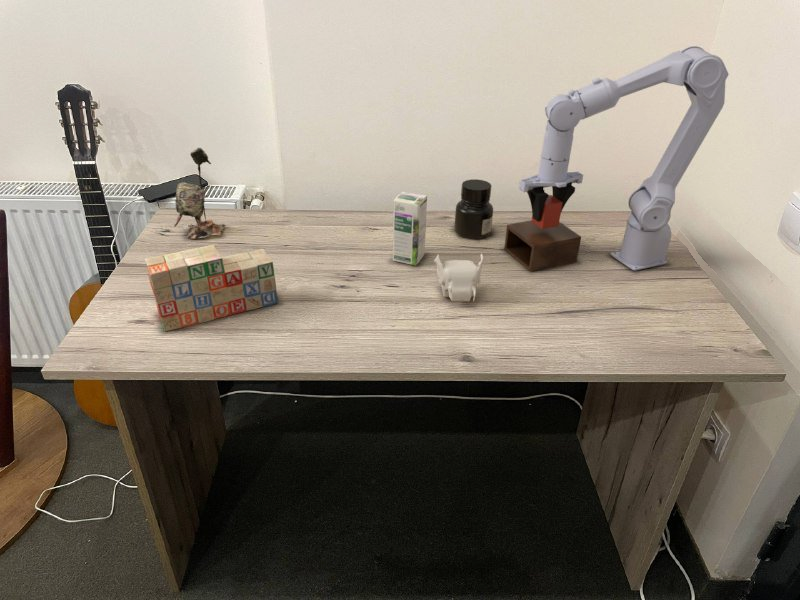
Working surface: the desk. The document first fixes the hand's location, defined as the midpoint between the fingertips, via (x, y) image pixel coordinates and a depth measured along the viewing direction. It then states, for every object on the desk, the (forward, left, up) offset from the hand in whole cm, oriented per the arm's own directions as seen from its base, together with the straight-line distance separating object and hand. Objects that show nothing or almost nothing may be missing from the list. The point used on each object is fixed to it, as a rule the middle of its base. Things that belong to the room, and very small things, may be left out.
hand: (545, 217), depth 130 cm
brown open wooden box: (0, 0, -9) cm, 9 cm away
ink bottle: (+8, -16, -10) cm, 21 cm away
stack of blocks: (+70, -3, -10) cm, 71 cm away
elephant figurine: (+25, +9, -10) cm, 28 cm away
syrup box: (+28, -9, -10) cm, 31 cm away
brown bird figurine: (+69, -38, -10) cm, 80 cm away
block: (0, 0, -1) cm, 1 cm away
